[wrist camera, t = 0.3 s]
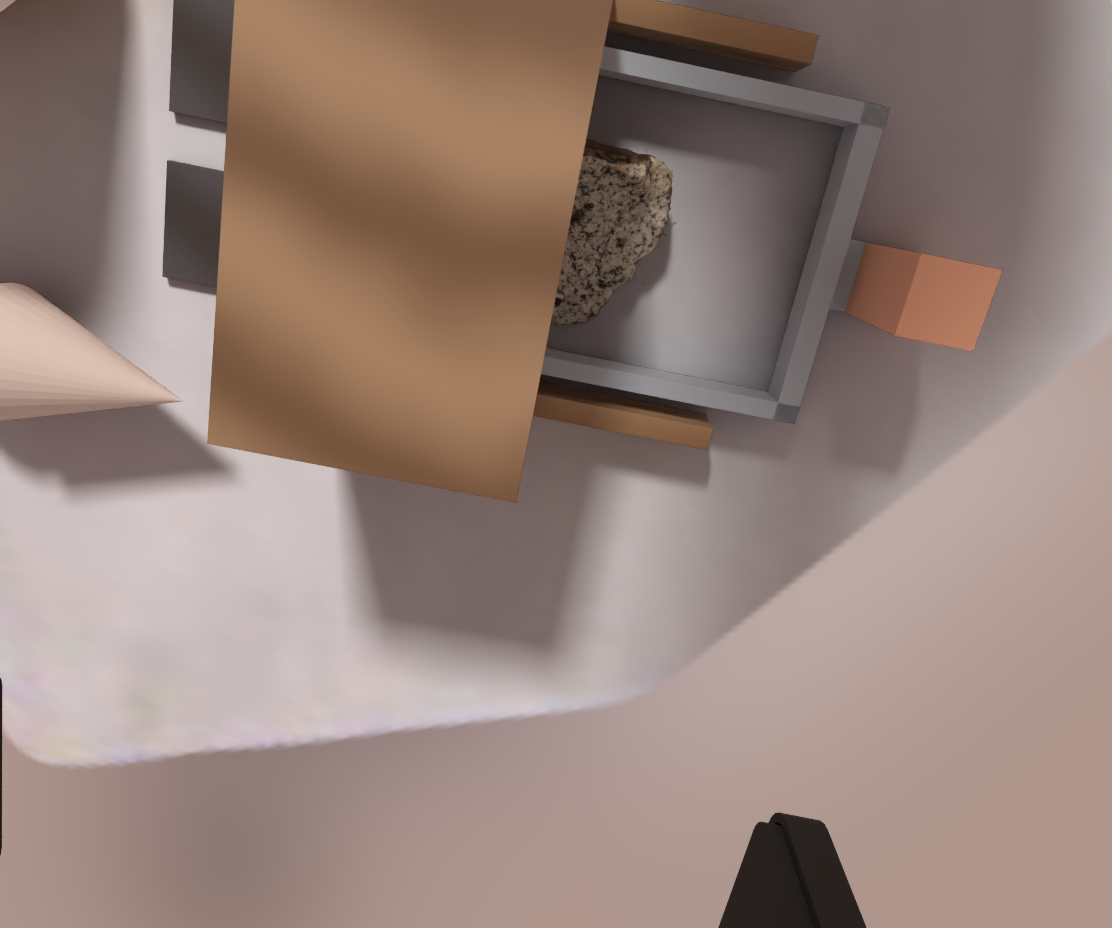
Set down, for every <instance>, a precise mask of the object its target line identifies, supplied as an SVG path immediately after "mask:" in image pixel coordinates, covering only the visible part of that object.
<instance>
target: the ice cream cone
mask: <svg viewBox="0 0 1112 928" xmlns="http://www.w3.org/2000/svg"><path fill="white" fill-rule="evenodd" d="M181 401H183V400H181V399H180V398H179V397H177V396H176V395H174V394H173V393H172V392H170V391H169V390H168V389H166V388H165V387H164V386H162V385H161V384H160V383H158V382H157V381H156V380H154V379H153V378H152V377H150V376H149V375H148V374H146V373H145V372H144V371H142V370H141V369H139V368H138V367H137V366H135V365H134V364H133V363H131V362H130V361H129V360H127V359H126V358H125V357H123V356H122V355H121V354H119V353H118V352H117V351H115V350H114V349H113V348H111V347H110V346H109V345H107V344H106V343H105V342H103V341H102V340H100V339H99V338H98V337H96V336H95V335H94V334H92V333H91V332H90V331H88V330H87V329H86V328H84V327H83V326H82V325H80V324H79V323H78V322H76V321H75V320H74V319H72V318H71V317H70V316H68V315H67V314H65V313H64V312H63V311H61V310H60V309H59V308H57V307H56V306H55V305H53V304H52V303H51V302H49V301H48V300H47V299H45V298H44V297H43V296H41V295H40V294H39V293H37V292H36V291H35V290H33V289H32V288H29V287H27V286H25V285H22V284H17V283H0V421H3V420H12V419H21V418H31V417H40V416H49V415H59V414H68V413H78V412H87V411H96V410H106V409H115V408H124V407H134V406H143V405H153V404H162V403H171V402H181Z"/></svg>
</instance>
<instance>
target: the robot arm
mask: <svg viewBox="0 0 1112 928" xmlns="http://www.w3.org/2000/svg"><path fill="white" fill-rule="evenodd" d="M1 848H2V681H1V678H0V855H1ZM719 928H866V925H865V923H864V921H863V918H862V915H861V913H860V910H859V908H858V905H857V903H856V900H855V898H854V895H853V893H852V890H851V888H850V885H849V883H848V880H847V878H846V875H845V872H844V870H843V868H842V865H841V862H840V860H839V857H838V855H837V852H836V850H835V847H834V845H833V842H832V840H831V837H830V834H829V832H828V830H827V828H826V826H825V824H824V823H823V822H821V821H819V820H814V819H809V818H804V817H799V816H794V815H788V814H783V813H775V814H774V815H773V816H772V817H771V819H770V821H769V823H765V822H759V823H757V825H756V826H755V828H754V830H753V833H752V836H751V839H750V841H749V844H748V847H747V850H746V853H745V855H744V858H743V861H742V864H741V867H740V869H739V872H738V875H737V878H736V880H735V883H734V886H733V889H732V892H731V894H730V897H729V900H728V903H727V906H726V908H725V911H724V914H723V917H722V920H721V922H720V925H719Z"/></svg>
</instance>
